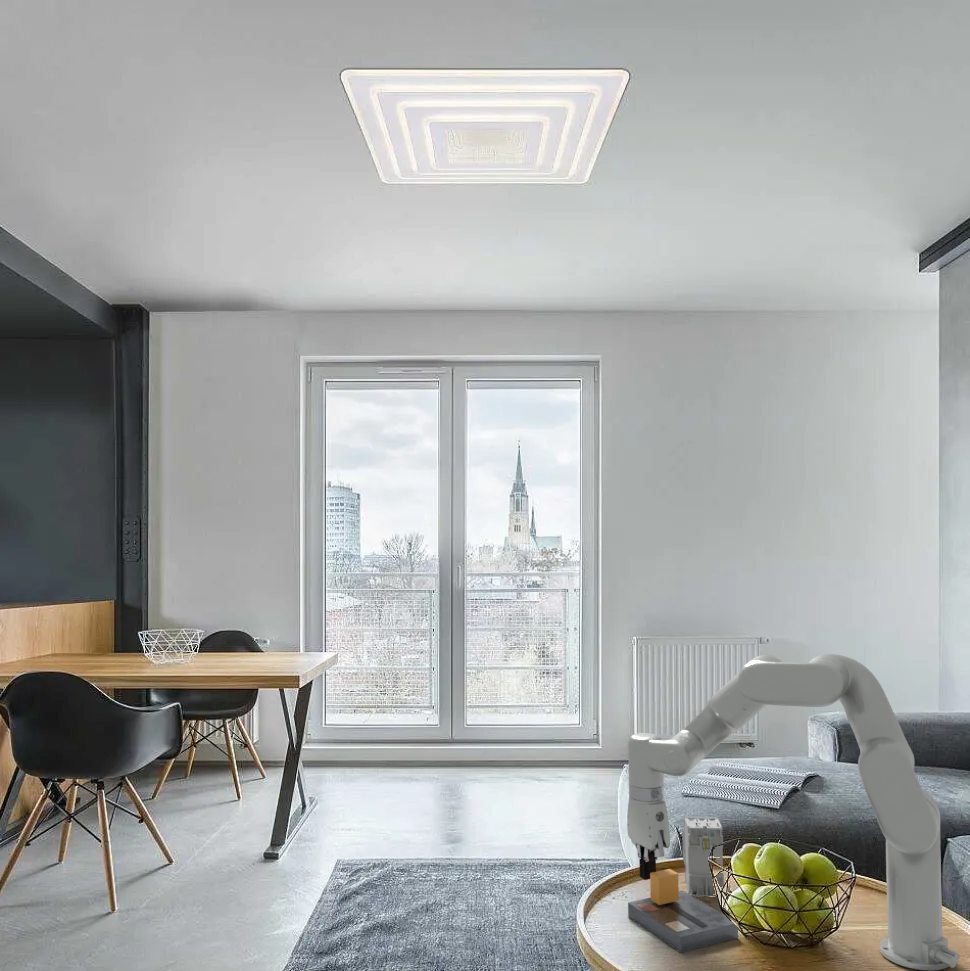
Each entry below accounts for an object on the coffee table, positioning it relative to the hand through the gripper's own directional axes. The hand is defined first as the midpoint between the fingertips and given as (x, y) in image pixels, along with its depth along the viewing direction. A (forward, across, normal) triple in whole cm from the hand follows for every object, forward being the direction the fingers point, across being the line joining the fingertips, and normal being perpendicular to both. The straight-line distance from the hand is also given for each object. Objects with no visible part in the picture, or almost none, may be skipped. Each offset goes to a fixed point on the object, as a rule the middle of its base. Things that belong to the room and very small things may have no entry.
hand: (647, 877), depth 201 cm
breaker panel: (+6, -12, 0) cm, 13 cm away
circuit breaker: (+6, +4, -18) cm, 20 cm away
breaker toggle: (+3, -6, 0) cm, 7 cm away
